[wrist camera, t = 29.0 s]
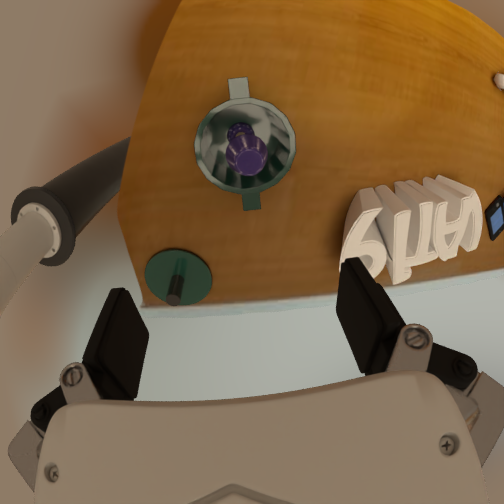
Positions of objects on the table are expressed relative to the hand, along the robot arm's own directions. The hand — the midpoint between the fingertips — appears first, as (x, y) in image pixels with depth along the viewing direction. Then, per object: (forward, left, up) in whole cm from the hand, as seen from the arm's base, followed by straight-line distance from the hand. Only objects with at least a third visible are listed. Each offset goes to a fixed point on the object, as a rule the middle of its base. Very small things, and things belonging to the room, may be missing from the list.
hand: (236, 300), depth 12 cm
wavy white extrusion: (+33, -16, -35) cm, 51 cm away
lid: (-14, -24, -34) cm, 44 cm away
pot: (+2, +1, -35) cm, 35 cm away
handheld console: (+69, -17, -35) cm, 79 cm away
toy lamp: (+2, +1, -35) cm, 35 cm away
